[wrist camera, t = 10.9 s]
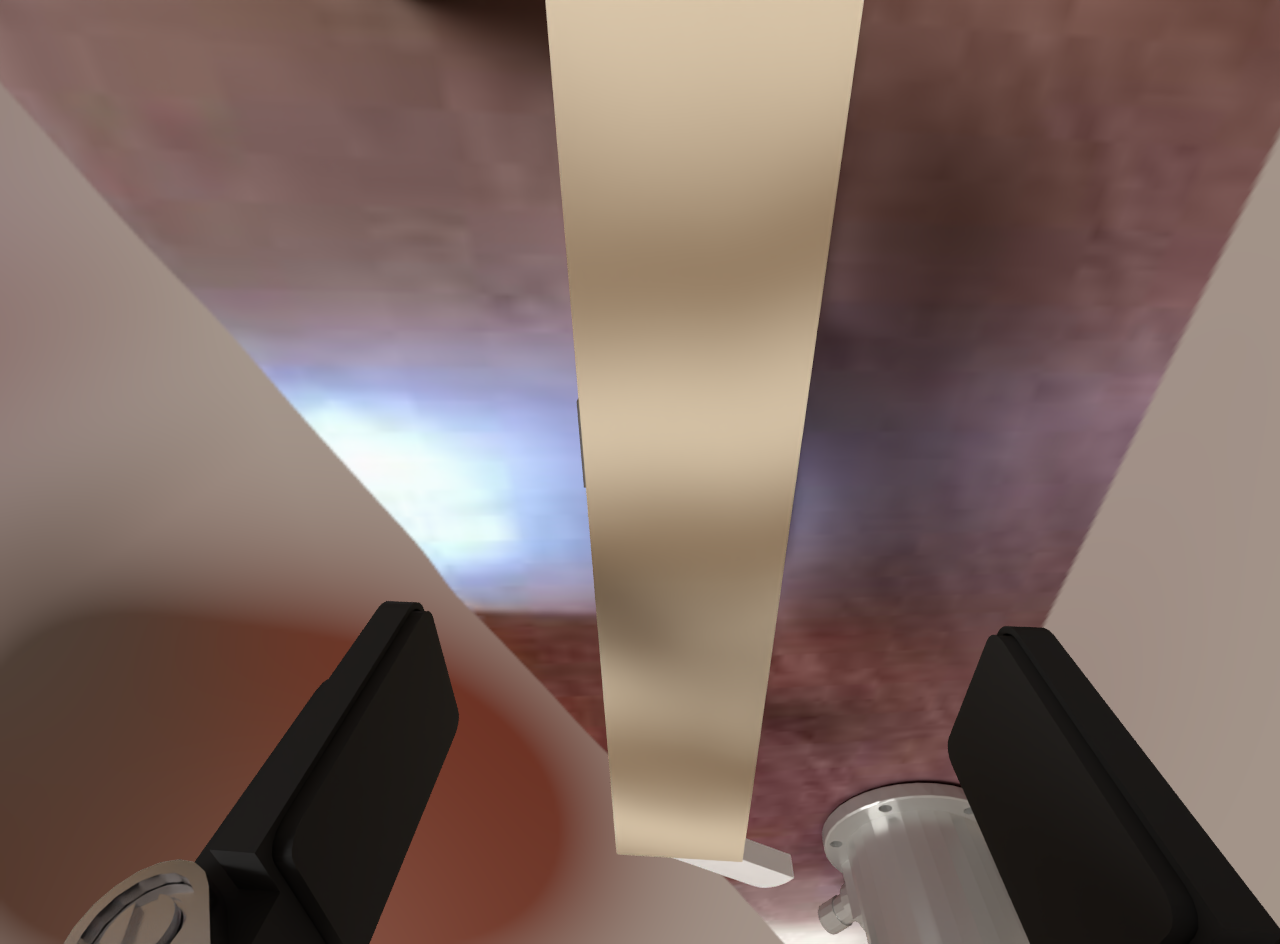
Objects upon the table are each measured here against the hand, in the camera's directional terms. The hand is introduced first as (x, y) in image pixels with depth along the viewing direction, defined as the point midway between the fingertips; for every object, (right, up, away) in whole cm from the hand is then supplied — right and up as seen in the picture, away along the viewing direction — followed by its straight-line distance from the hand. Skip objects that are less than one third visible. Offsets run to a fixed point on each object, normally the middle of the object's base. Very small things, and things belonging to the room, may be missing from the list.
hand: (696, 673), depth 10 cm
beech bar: (0, +4, +6) cm, 8 cm away
